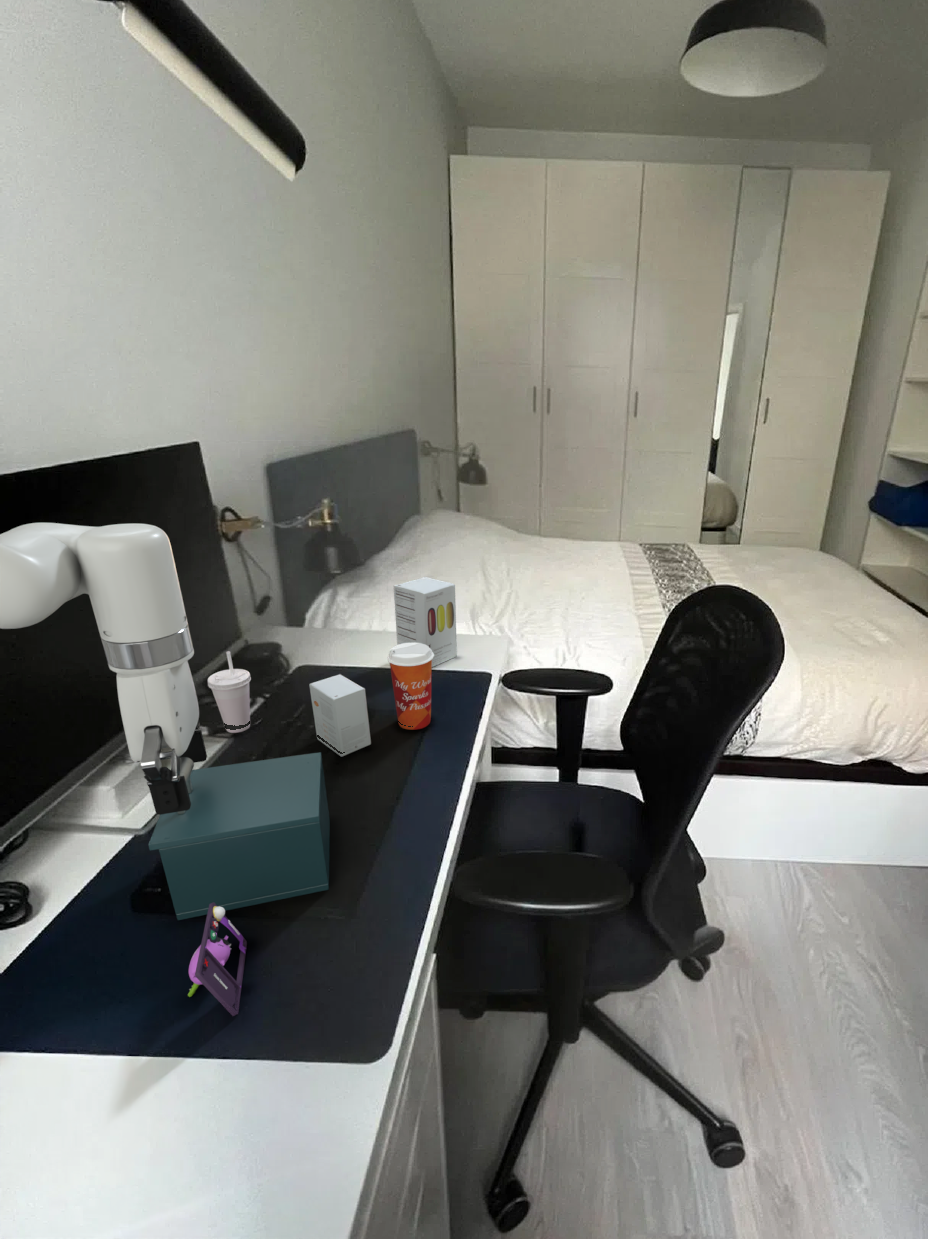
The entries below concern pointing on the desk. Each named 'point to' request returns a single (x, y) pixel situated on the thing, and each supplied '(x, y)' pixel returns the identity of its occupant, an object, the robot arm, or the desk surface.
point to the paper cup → (412, 683)
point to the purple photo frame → (218, 962)
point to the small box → (340, 714)
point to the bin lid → (243, 800)
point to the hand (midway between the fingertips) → (183, 784)
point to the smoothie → (232, 695)
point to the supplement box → (427, 616)
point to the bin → (250, 866)
